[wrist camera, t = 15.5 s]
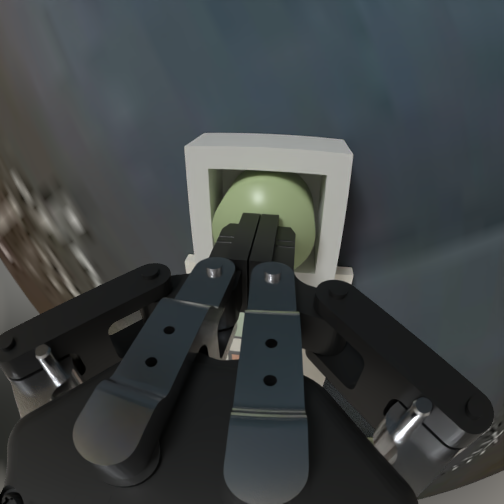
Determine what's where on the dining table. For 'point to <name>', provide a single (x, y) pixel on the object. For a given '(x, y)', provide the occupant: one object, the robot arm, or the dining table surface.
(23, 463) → the robot arm
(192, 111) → the dining table surface
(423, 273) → the dining table surface
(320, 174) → the button housing
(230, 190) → the button
